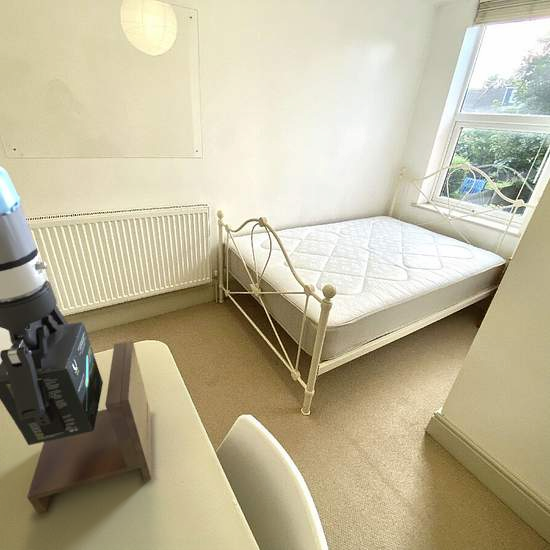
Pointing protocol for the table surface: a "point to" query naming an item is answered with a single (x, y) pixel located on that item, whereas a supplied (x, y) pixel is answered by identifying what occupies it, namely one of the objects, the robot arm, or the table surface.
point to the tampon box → (62, 384)
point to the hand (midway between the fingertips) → (64, 400)
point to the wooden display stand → (101, 437)
